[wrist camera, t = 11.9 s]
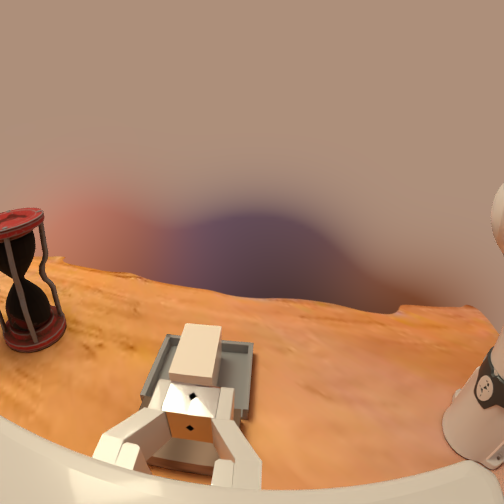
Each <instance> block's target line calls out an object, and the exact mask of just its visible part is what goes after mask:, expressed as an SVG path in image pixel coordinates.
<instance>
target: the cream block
mask: <svg viewBox="0 0 504 504" xmlns="http://www.w3.org/2000/svg"><path fill="white" fill-rule="evenodd" d="M221 359H222V326H211V325H200V324H189V323H186V324H185V327H184V330H183V332H182V335H181V338H180V341H179V344H178V346H177V349H176V352H175V355H174V358H173V361H172V364H171V366H170V369H169V372H168V373H169V379H170V381H177V382H183V383H189V384H195V385H206V386H216V387H217V383H218V377H219V371H220V365H221Z"/></svg>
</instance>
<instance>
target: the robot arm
mask: <svg viewBox="0 0 504 504" xmlns="http://www.w3.org/2000/svg"><path fill="white" fill-rule="evenodd" d="M491 225H492V231H493V235H494V238H495V240H496V243H497V245H498V246H499V248H500V249H501V251H502V253H503V255H504V183H503V184H502V185H501V187H500V188H499V189H498V191H497V193H496V195H495V197H494V201H493V204H492V210H491ZM234 393H235V389H234V388H226V387H216V386H206V385H195V384H189V383H183V382H177V381H170V380H165V379H160V380H159V381H158V383H157V385H156V388H155V391H154V393H153V396H152V398H151V401H150V403H149V406H148V408H146V407H144V408H142V409H141V410H139V411H138V412H136V413H135V414H133V415H132V416H130V417H129V418H127V419H126V420H124V421H122V422H121V423H119V424H118V425H116V426H115V427H113V428H111V429H110V430H108V431H107V432H105V433H103V434H102V436H101V438H100V441H99V443H98V445H97V447H96V449H95V452H94V454H93V456H92V457H89V456H86V455H84V454H81V453H78V452H76V451H73V450H70V449H68V448H66V447H63V446H61V445H58V444H56V443H54V442H51V441H49V440H47V439H45V438H43V437H41V436H38V435H36V434H34V433H32V432H30V431H28V430H26V429H24V428H22V427H20V426H18V425H17V424H15V423H13V422H11V421H9V420H7V419H6V418H4V417H2V416H1V415H0V504H504V496H503V492H502V489H501V487H500V484H499V482H498V479H497V478H496V476H495V475H494V474H493V473H492V472H491V471H489V470H488V469H486V468H485V467H483V466H481V465H480V464H478V463H476V462H474V461H477V462H480V463H482V464H483V465H484V466H486V467H487V468H489V469H491V470H494V469H496V468H497V467H499V466H500V465H501V464H502V463H504V325H503V328H502V330H501V333H500V335H499V337H498V339H497V341H496V344H495V346H493V347H492V348H491V349H490V351H489V352H488V354H487V355H486V356H485V358H484V360H483V363H482V365H481V366H479V367H478V368H477V369H476V370H475V371H474V373H473V374H472V375H471V377H470V378H469V380H468V381H467V382H466V384H465V385H464V387H463V388H462V389H458V390H457V391H456V392H455V393H454V395H453V399H452V403H451V405H450V406H449V407H448V408H447V410H446V411H445V413H444V416H443V422H442V426H443V432H444V435H445V437H446V440H447V441H448V443H449V444H450V446H451V447H452V448H453V449H454V450H455V451H456V452H457V453H458V454H460V455H461V456H463V457H465V458H467V459H470V460H465V461H461V462H458V463H455V464H452V465H449V466H446V467H443V468H439V469H436V470H432V471H428V472H425V473H421V474H417V475H412V476H408V477H403V478H399V479H394V480H389V481H383V482H377V483H371V484H364V485H357V486H348V487H339V488H327V489H310V490H261V477H262V461H261V459H260V458H259V457H258V455H257V454H256V452H255V451H254V450H253V448H252V447H251V445H250V444H249V442H248V441H247V439H246V438H245V436H244V435H243V433H242V432H241V430H240V429H239V427H238V426H237V424H236V423H235V421H234V420H233V416H234ZM171 437H174V438H181V439H188V440H195V441H201V442H207V443H213V445H214V447H215V449H216V451H217V453H218V455H219V457H220V459H218V460H216V461H215V465H214V470H213V476H212V482H211V485H204V484H197V483H191V482H185V481H179V480H174V479H169V478H164V477H159V476H155V475H152V473H151V471H150V469H149V467H148V465H147V463H146V461H147V460H148V459H149V458H150V457H151V456H152V455H154V454H155V453H156V452H157V451H158V450H159V449H160V448H161V447H162V446H164V445H165V444H166V443H167V442H168V441H169V440H170V439H171ZM497 459H498V460H497ZM472 460H473V461H472Z"/></svg>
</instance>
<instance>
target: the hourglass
mask: <svg viewBox="0 0 504 504" xmlns="http://www.w3.org/2000/svg"><path fill="white" fill-rule="evenodd" d="M43 221H44V213H43V210H41V209H39V208H22V209H15V210H9V211H6V212H3V213H0V271H1V272H3V273H4V274H6V275H7V276H9V277H11V278H12V279H13V281H14V283H13V285H12V287H11V289H10V291H9V294H8V297H7V300H6V313H7V316H8V321H7V322H6V324H5V322H4V319H3V316H2V314H1V311H0V324H1V326H2V329H3V336H4V339H5V341H6V344H7V345H8V346H9V347H10V348H11V349H13V350H16V351H19V352H33V351H39V350H41V349H44V348H46V347H48V346H50V345H52V344H53V343H54V342H56V341H57V340H58V339H59V338H60V337H61V336H62V334H63V333H64V331H65V328H66V319H65V315H64V314H63V312H62V310H61V306H60V302H59V299H58V295H57V291H56V286H55V285H54V283H53V282H52V281H51V280H50V279H48V278H47V275H46V273H45V263H46V261H47V259H48V249H47V244H46V237H45V231H44V224H43ZM37 226H39V233H40V239H41V245H42V250H43V257H42V261H41V263H40V265H39V274H40V276H41V278H42V280H43V281H44V282H46V283H47V284H48V285H49V287H50V288H51V291H52V295H53V299H54V302H55V306H56V307H55V306H51V305H50V304H49V301H48V298H47V296H46V295H45V293H44V292H43V291H42V289H41V288H39V287H38V286H36V285H35V284H33V283H32V282H30V281H28V280H26V279H25V278H24V275H25V273H26V271H27V270H28V268H29V266H30V264H31V262H32V259H33V257H34V252H35V237H34V233H33V231H32V230H33V229H34V228H35V227H37Z"/></svg>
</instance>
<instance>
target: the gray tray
mask: <svg viewBox="0 0 504 504" xmlns="http://www.w3.org/2000/svg"><path fill="white" fill-rule="evenodd" d="M180 338H181V336H178V335H170V334H167V335H166V337H165V339H164V342H163V344H162V346H161V348H160V350H159V353H158V355H157V357H156V359H155V362H154V364H153V366H152V368H151V371H150V373H149V375H148V377H147V380H146V382H145V384H144V387H143V389H142V391H141V394H140V396H141V400H142V401H143V399H144V397H145V396H149V397H152V396H153V393H154V391H155V388H156V385H157V383H158V381H159V380H160V379H165V380H170V379H169V373H168V372H169V369H170V366H171V364H172V361H173V358H174V355H175V352H176V349H177V346H178V344H179V341H180ZM252 356H253V343H249V342H236V341H224V340H222V359H221V365H220V371H219V377H218V383H217V387H226V388H234V389H235V393H234V409H241V419H248V409H249V396H250V383H251V369H252Z"/></svg>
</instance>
